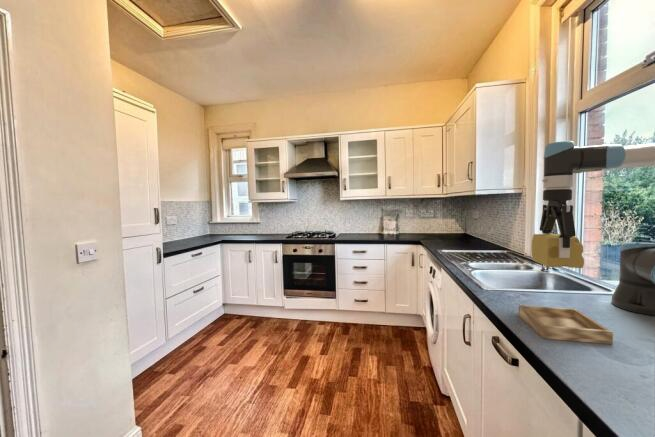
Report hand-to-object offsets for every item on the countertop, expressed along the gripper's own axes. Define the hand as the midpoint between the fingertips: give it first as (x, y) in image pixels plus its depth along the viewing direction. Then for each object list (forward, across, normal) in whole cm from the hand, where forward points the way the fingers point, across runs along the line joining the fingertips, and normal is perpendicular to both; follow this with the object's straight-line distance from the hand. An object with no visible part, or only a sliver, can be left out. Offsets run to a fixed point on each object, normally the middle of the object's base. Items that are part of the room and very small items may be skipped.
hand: (555, 254), depth 95 cm
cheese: (+4, 0, 0) cm, 4 cm away
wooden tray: (+20, +14, -4) cm, 25 cm away
